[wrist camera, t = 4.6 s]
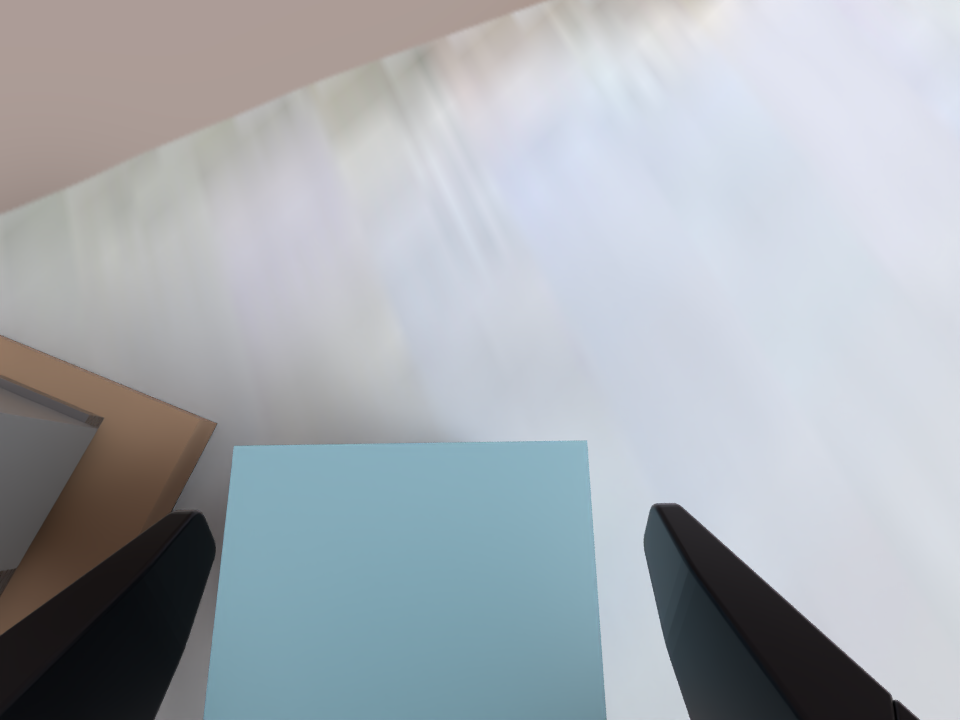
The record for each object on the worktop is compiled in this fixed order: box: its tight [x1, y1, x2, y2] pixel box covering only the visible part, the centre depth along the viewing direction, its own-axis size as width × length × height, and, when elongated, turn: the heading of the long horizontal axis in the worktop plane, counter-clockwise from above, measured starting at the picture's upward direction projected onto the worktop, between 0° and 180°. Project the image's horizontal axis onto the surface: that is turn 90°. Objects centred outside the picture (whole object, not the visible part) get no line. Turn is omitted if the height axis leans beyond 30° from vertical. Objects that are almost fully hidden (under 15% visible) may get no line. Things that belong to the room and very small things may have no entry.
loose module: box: [203, 441, 606, 720], centre depth 10 cm, size 4×5×10 cm
